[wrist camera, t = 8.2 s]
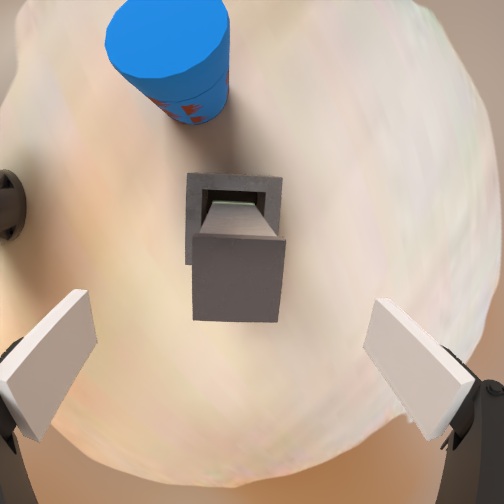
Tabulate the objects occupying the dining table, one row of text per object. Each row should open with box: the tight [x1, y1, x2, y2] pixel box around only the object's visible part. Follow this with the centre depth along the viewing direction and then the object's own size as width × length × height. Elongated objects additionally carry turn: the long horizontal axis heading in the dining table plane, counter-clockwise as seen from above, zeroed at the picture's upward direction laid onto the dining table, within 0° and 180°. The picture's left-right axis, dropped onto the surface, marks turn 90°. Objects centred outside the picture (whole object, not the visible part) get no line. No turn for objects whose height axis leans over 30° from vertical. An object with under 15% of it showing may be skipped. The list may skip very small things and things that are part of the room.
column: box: [192, 200, 286, 322], centre depth 28 cm, size 5×6×22 cm
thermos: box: [105, 0, 230, 125], centre depth 29 cm, size 11×11×25 cm
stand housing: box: [185, 172, 282, 265], centre depth 41 cm, size 12×12×11 cm
